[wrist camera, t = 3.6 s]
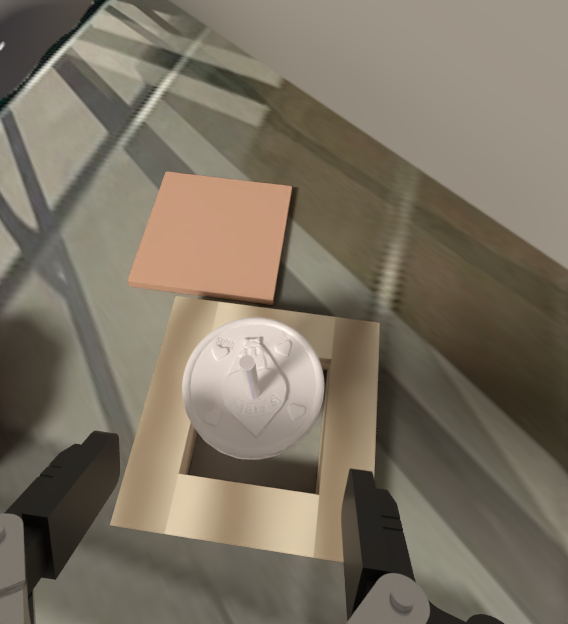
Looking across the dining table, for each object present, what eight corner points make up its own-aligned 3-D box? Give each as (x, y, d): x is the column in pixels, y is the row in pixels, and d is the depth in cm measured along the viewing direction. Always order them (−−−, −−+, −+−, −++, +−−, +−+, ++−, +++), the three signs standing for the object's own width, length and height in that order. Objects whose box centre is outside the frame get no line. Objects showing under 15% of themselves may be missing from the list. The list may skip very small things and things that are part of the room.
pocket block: (371, 336, 29) (379, 322, 27) (361, 559, 23) (370, 566, 21) (183, 311, 29) (175, 295, 27) (126, 522, 23) (109, 525, 21)
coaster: (291, 192, 34) (292, 186, 34) (272, 305, 30) (272, 300, 29) (168, 178, 35) (165, 171, 34) (130, 286, 30) (127, 281, 30)
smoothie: (212, 476, 25) (144, 453, 12) (212, 376, 27) (156, 271, 15) (314, 468, 25) (353, 436, 12) (304, 370, 28) (327, 261, 15)
